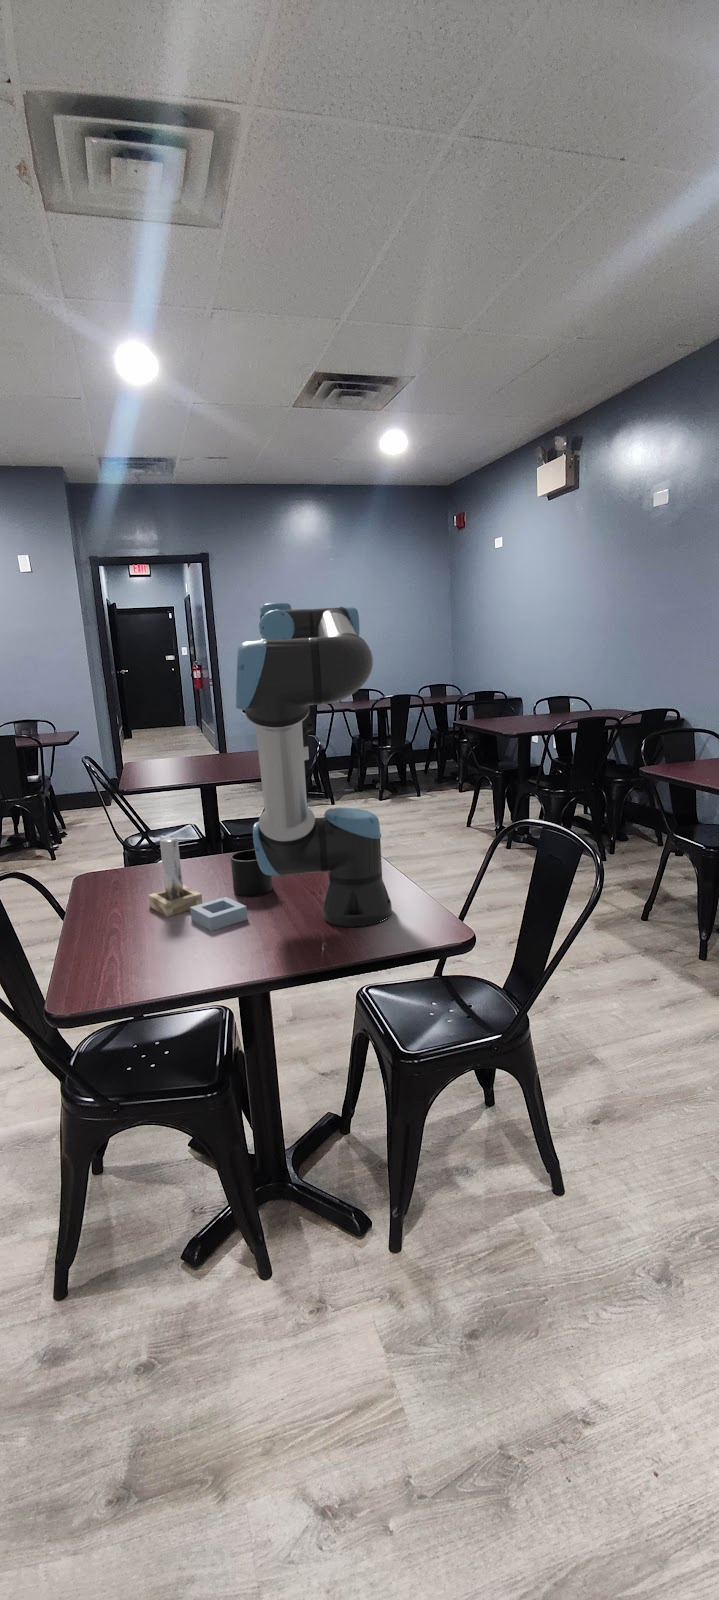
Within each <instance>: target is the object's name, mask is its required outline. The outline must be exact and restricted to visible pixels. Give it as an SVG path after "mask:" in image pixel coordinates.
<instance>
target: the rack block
mask: <svg viewBox="0 0 719 1600" xmlns="http://www.w3.org/2000/svg"><path fill="white" fill-rule="evenodd" d="M183 892H184V897H180V898H177V899H173V900H169V901H168V900H166V892H165V889H164V890H161V891H156V892H153V893H149V894H148V901H149V907H150V908H151V909H153V910H155V911H156V912H158V913H160V914H161V915H163V916H165V917H171V916H173V915H176V914H179V913H184V912H186V911H187V912H188V911H190V907H192V906H196V905H199V904H202V903H203V895H202V893H201V892H198V891H196V890H195V889H193V888H190V887H188V886H187V885H185V884H183Z"/></svg>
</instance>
